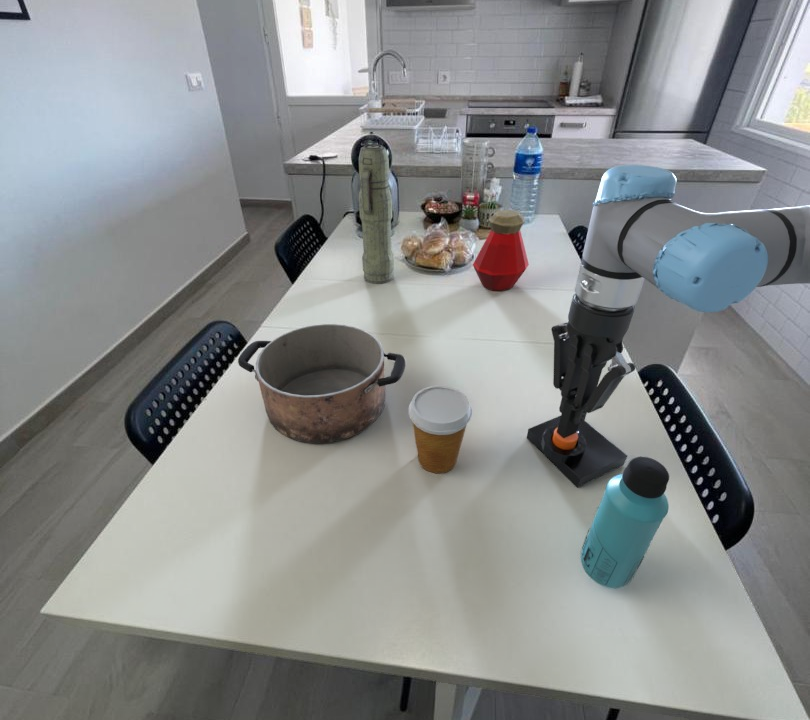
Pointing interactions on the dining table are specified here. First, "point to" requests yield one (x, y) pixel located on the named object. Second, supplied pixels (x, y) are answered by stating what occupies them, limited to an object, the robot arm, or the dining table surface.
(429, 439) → the disposable coffee cup
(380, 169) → the thermos
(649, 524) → the beverage bottle
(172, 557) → the dining table surface
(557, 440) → the button
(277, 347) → the cooking pot
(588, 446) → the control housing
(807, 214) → the robot arm
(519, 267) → the bottle
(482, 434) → the dining table surface
